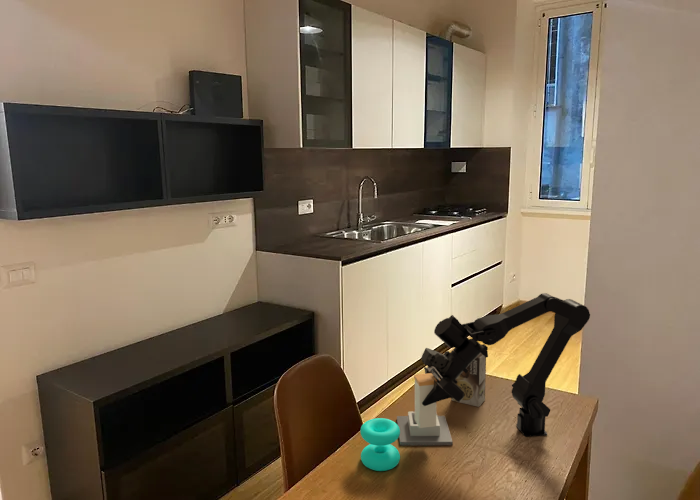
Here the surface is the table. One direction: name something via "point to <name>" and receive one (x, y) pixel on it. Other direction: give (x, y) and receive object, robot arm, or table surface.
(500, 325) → the robot arm
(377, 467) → the donuts
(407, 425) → the socket
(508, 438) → the table surface
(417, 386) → the plug
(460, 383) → the coffee box
